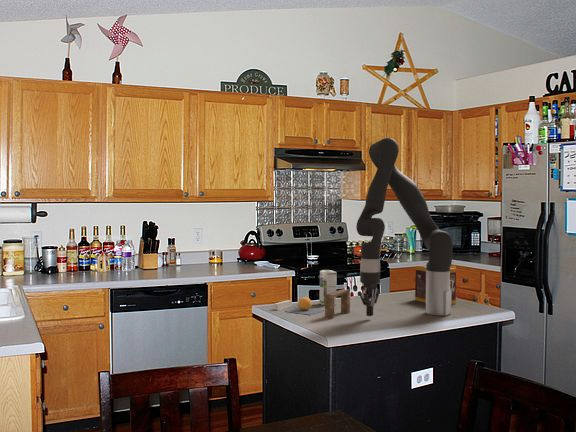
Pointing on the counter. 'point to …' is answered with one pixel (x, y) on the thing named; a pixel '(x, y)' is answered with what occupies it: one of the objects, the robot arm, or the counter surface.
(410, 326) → the counter surface
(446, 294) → the robot arm
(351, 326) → the counter surface
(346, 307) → the bridge
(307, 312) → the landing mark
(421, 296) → the supplement box
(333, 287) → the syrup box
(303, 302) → the ball
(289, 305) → the beige thin bar
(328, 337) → the counter surface
